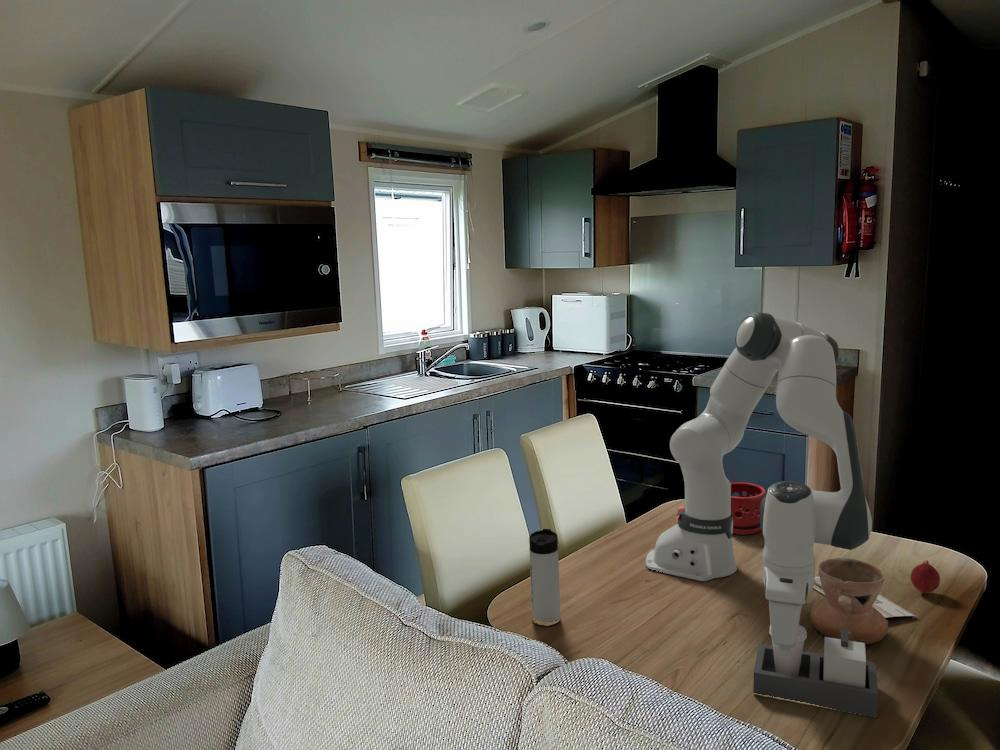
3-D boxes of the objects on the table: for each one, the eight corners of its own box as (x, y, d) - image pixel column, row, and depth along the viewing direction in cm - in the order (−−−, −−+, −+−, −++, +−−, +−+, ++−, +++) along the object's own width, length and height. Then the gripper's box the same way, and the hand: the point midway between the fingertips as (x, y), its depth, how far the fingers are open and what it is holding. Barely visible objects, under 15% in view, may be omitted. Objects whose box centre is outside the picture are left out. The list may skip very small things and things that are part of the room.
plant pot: (719, 519, 222) (720, 480, 220) (767, 523, 217) (767, 483, 215) (713, 535, 210) (713, 494, 208) (763, 540, 205) (764, 498, 203)
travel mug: (563, 614, 169) (561, 529, 166) (556, 628, 163) (553, 540, 160) (537, 611, 171) (533, 527, 168) (528, 625, 165) (525, 538, 162)
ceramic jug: (882, 662, 144) (886, 593, 142) (802, 643, 152) (805, 577, 150) (891, 623, 159) (895, 560, 157) (818, 607, 167) (821, 547, 165)
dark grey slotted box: (753, 695, 136) (754, 643, 134) (761, 649, 151) (762, 603, 149) (876, 718, 128) (879, 664, 126) (872, 668, 143) (874, 619, 141)
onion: (943, 600, 168) (945, 566, 166) (914, 598, 169) (916, 565, 167) (933, 588, 173) (935, 555, 172) (906, 587, 174) (908, 554, 173)
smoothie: (762, 669, 142) (763, 600, 140) (795, 666, 143) (796, 597, 140) (778, 689, 136) (779, 617, 133) (812, 685, 136) (814, 613, 134)
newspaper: (803, 586, 179) (804, 576, 178) (848, 584, 182) (849, 574, 181) (869, 631, 157) (870, 620, 157) (919, 628, 160) (920, 617, 159)
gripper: (773, 548, 146) (772, 615, 148) (764, 594, 127) (763, 670, 129) (808, 552, 143) (807, 620, 145) (804, 600, 125) (803, 676, 127)
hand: (786, 644), depth 137 cm, fingers open, 8 cm apart
